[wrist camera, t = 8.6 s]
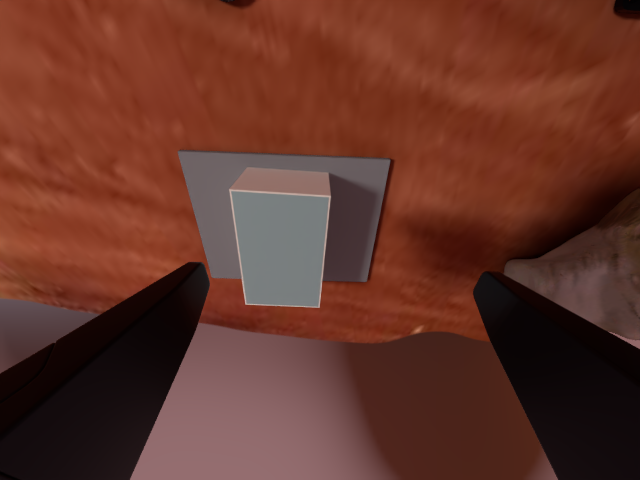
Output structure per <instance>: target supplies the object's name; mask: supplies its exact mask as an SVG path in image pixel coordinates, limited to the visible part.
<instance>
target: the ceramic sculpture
mask: <svg viewBox="0 0 640 480" xmlns="http://www.w3.org/2000/svg"><path fill="white" fill-rule="evenodd" d="M504 275H506V276H508V277H510V278H511V279H513V280H515V281H517V282H519V283H521V284H522V285H524V286H526V287H528V288H530V289H531V290H533V291H535V292H537V293H539V294H540V295H542V296H544V297H546V298H548V299H550V300H551V301H553V302H555V303H557V304H559V305H560V306H562V307H564V308H566V309H568V310H569V311H571V312H573V313H575V314H577V315H579V316H580V317H582V318H584V319H586V320H588V321H589V322H591V323H593V324H595V325H597V326H599V327H600V328H602V329H604V330H606V331H609V332H613V333H615V334H618V335H620V336H622V337H625V338H627V339H632V340H640V188H639V189H637V190H635V191H633V192H632V193H630V194H629V195H627V196H626V197H625V198H624V199H623V200H622V201H620V202H619V203H618V204H617V205H616V206H615V207H614V208H613V209H612V210H611V211H610V212H608V213H607V214H606V215H605V216H604V217H603V218H602V219H601V220H600V221H599V223H598V224H597V225H595V226H594V227H592V228H590V229H588V230H586V231H584V232H583V233H581V234H579V235H577V236H575V237H573V238H572V239H570V240H568V241H567V242H565V243H564V244H562V245H561V246H559V247H558V248H556V249H554V250H552V251H550V252H548V253H546V254H545V255H543V256H541V257H539V258H536V259H514V260H510V261H508V262H507V263H506V265H505V269H504Z"/></svg>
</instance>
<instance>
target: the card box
mask: <svg viewBox="0 0 640 480" xmlns="http://www.w3.org/2000/svg"><path fill="white" fill-rule="evenodd" d="M229 192H230V199H231V206H232V213H233V220H234V227H235V234H236V241H237V248H238V255H239V262H240V269H241V276H242V283H243V290H244V297H245V304H248V305H271V306H294V307H317V308H320V298H321V288H322V278H323V268H324V258H325V249H326V239H327V229H328V219H329V209H330V199H331V192H330V183H329V174H328V173H326V172H312V171H297V170H282V169H268V168H253V167H247V168H246V169H245V171H244V172H243V173H242V174H241V175H240V177H239V178H238V179H237V180H236V182H235V183H234V184H233V185H232V186H231V188H230V189H229Z"/></svg>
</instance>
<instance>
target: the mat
mask: <svg viewBox="0 0 640 480" xmlns="http://www.w3.org/2000/svg"><path fill="white" fill-rule="evenodd" d="M178 154H179V158H180V162H181V165H182V169H183V173H184V176H185V180H186V184H187V188H188V191H189V195H190V199H191V202H192V206H193V210H194V213H195V217H196V221H197V224H198V228H199V232H200V235H201V239H202V243H203V246H204V250H205V254H206V257H207V261H208V265H209V268H210V272H211V276H212V278H236V279H242V276H241V269H240V262H239V255H238V248H237V241H236V234H235V227H234V220H233V213H232V206H231V199H230V192H229V189H230V188H231V186H232V185H233V184H234V183H235V182H236V180H237V179H238V178H239V177H240V175H241V174H242V173H243V172H244V171H245V169H246V168H247V167H253V168H268V169H282V170H297V171H312V172H326V173H328V174H329V183H330V192H331V199H330V209H329V219H328V229H327V239H326V249H325V258H324V268H323V278H322V281H352V282H367V277H368V272H369V267H370V262H371V257H372V252H373V247H374V242H375V236H376V231H377V226H378V221H379V216H380V211H381V206H382V201H383V196H384V191H385V186H386V180H387V175H388V170H389V165H390V159H389V158H370V157H345V156H320V155H295V154H270V153H245V152H220V151H195V150H179V151H178Z"/></svg>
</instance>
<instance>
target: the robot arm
mask: <svg viewBox="0 0 640 480" xmlns="http://www.w3.org/2000/svg"><path fill="white" fill-rule="evenodd" d="M614 8H615V10H616V11H617V12H623V13H640V0H630V1H629V0H616V1H615V6H614ZM209 286H210V282H209V278H208V275H207V272H206V268H205V265H204V264H203V263H202V262H188V263H186V264H185V265H183V266H181V267H180V268H178V269H176V270H175V271H173V272H171V273H170V274H168V275H166V276H165V277H163V278H161V279H159V280H158V281H156V282H154V283H153V284H151V285H149V286H148V287H146V288H144V289H143V290H141V291H139V292H138V293H136V294H134V295H133V296H131V297H129V298H127V299H126V300H124V301H122V302H121V303H119V304H117V305H116V306H114V307H112V308H111V309H109V310H107V311H106V312H104V313H102V314H101V315H99V316H97V317H96V318H94V319H92V320H90V321H89V322H87V323H85V324H84V325H82V326H80V327H79V328H77V329H75V330H74V331H72V332H70V333H69V334H67V335H65V336H63V337H62V338H60V339H58V340H57V341H56V343H52V344H50V345H48V346H47V347H45V348H43V349H42V350H40V351H38V352H37V353H35V354H33V355H31V356H30V357H28V358H26V359H25V360H23V361H21V362H19V363H18V364H16V365H14V366H12V367H11V368H9V369H8V370H6V371H4V372H2V373H1V374H0V480H130V478H131V476H132V473H133V471H134V469H135V467H136V464H137V462H138V460H139V457H140V455H141V453H142V451H143V449H144V446H145V444H146V442H147V439H148V437H149V435H150V433H151V431H152V428H153V426H154V424H155V421H156V419H157V417H158V415H159V412H160V410H161V408H162V406H163V403H164V401H165V399H166V396H167V394H168V392H169V390H170V388H171V385H172V383H173V381H174V379H175V376H176V374H177V372H178V370H179V367H180V365H181V363H182V360H183V358H184V356H185V354H186V351H187V349H188V347H189V345H190V342H191V340H192V338H193V335H194V333H195V331H196V328H197V325H198V322H199V319H200V315H201V312H202V309H203V306H204V303H205V300H206V296H207V293H208V290H209ZM473 295H474V299H475V301H476V304H477V307H478V310H479V312H480V315H481V318H482V320H483V323H484V326H485V329H486V331H487V334H488V336H489V339H490V341H491V343H492V345H493V348H494V350H495V352H496V354H497V356H498V358H499V360H500V362H501V364H502V366H503V368H504V370H505V372H506V374H507V376H508V378H509V380H510V382H511V384H512V386H513V388H514V390H515V393H516V395H517V397H518V399H519V401H520V403H521V405H522V407H523V409H524V411H525V413H526V415H527V417H528V419H529V421H530V423H531V425H532V427H533V429H534V431H535V433H536V435H537V438H538V440H539V442H540V444H541V446H542V448H543V450H544V452H545V454H546V456H547V458H548V460H549V462H550V464H551V466H552V468H553V470H554V472H555V474H556V476H557V478H558V480H640V349H638V348H636V347H635V346H633V345H631V344H629V343H628V342H625V341H624V340H622V339H620V338H618V337H617V336H615V335H613V334H611V333H609V332H608V331H606V330H604V329H602V328H600V327H599V326H597V325H595V324H593V323H591V322H589V321H588V320H586V319H584V318H582V317H580V316H579V315H577V314H575V313H573V312H571V311H569V310H568V309H566V308H564V307H562V306H560V305H559V304H557V303H555V302H553V301H551V300H550V299H548V298H546V297H544V296H542V295H540V294H539V293H537V292H535V291H533V290H531V289H530V288H528V287H526V286H524V285H522V284H521V283H519V282H517V281H515V280H513V279H511V278H510V277H508V276H506V275H504V274H502V273H500V272H497V271H485V272H483V273H482V275H481V276H480V278H479V280H478V282H477V284H476V286H475V288H474V290H473Z"/></svg>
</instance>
